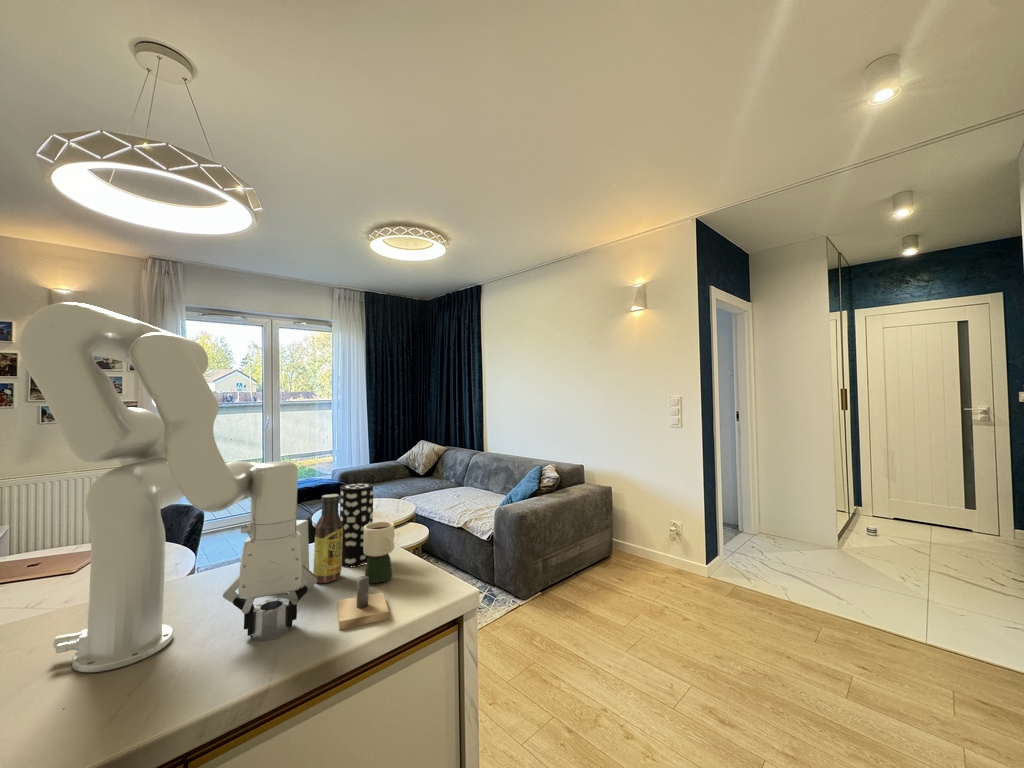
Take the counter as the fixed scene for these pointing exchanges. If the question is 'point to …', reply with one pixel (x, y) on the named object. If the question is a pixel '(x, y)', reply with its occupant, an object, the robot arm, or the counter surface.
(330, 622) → the counter surface
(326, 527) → the sauce bottle
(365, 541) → the character mug
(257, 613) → the tube
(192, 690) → the counter surface
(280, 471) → the robot arm
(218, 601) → the counter surface
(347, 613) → the shaft stand
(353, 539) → the white-spotted black cylinder
